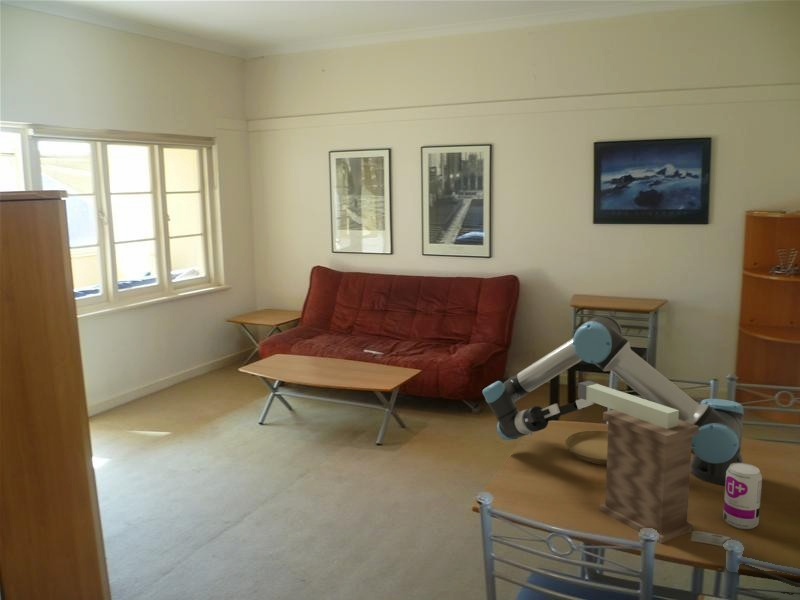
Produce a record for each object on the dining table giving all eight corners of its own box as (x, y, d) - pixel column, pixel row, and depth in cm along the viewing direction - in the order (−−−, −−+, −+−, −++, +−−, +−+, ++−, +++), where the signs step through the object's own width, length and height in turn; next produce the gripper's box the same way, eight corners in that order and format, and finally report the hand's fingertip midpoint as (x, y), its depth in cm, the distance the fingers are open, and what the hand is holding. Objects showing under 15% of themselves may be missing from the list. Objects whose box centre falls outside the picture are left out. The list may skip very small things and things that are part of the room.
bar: (577, 397, 190) (578, 383, 190) (588, 394, 193) (588, 380, 192) (667, 429, 165) (667, 413, 164) (678, 425, 167) (679, 409, 166)
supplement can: (742, 533, 169) (747, 477, 167) (716, 518, 177) (719, 465, 174) (765, 526, 172) (769, 471, 170) (738, 512, 180) (741, 459, 177)
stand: (599, 510, 182) (603, 412, 177) (630, 499, 188) (634, 404, 183) (661, 543, 165) (666, 436, 160) (692, 530, 171) (698, 426, 166)
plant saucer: (633, 474, 205) (633, 464, 204) (556, 459, 217) (556, 449, 216) (647, 447, 225) (648, 437, 225) (576, 434, 237) (576, 425, 237)
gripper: (565, 423, 217) (609, 408, 200) (504, 439, 205) (547, 424, 187) (557, 401, 219) (601, 384, 202) (497, 416, 207) (538, 399, 190)
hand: (575, 403), depth 195 cm, fingers open, 13 cm apart
